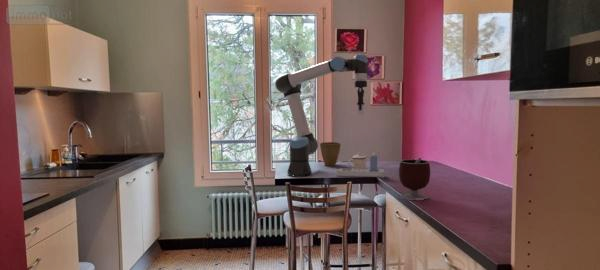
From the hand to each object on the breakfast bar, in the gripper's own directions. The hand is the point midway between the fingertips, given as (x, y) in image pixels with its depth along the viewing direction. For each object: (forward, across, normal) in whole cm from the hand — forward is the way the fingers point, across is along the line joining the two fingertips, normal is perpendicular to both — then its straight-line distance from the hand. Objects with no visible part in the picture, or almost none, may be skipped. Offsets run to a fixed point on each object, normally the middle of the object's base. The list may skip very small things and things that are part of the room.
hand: (360, 115), depth 231 cm
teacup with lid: (+37, +12, +3) cm, 39 cm away
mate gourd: (+37, -56, -27) cm, 72 cm away
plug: (+36, -8, -8) cm, 38 cm away
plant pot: (+37, +32, +23) cm, 54 cm away
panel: (+37, -8, 0) cm, 38 cm away
